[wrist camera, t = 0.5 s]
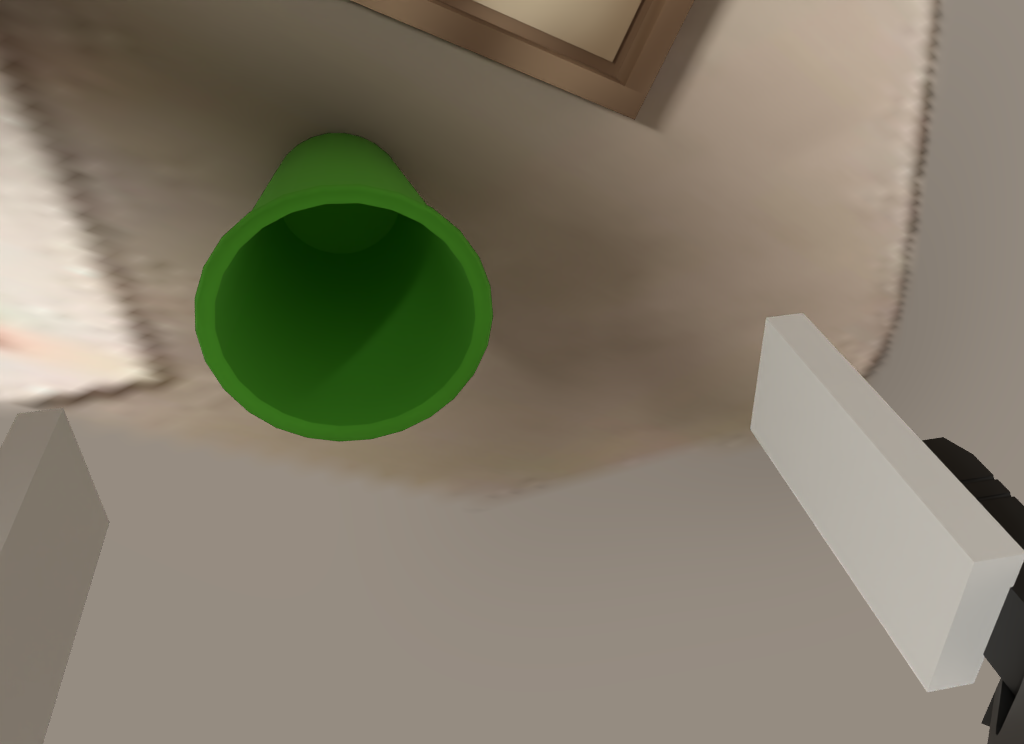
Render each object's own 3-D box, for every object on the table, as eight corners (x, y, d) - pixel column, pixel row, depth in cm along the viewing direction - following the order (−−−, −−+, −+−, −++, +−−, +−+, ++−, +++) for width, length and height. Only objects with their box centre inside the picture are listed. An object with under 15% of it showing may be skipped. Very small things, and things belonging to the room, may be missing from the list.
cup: (469, 259, 38) (517, 402, 29) (269, 311, 38) (256, 472, 29) (419, 55, 33) (459, 152, 24) (187, 112, 33) (140, 234, 24)
